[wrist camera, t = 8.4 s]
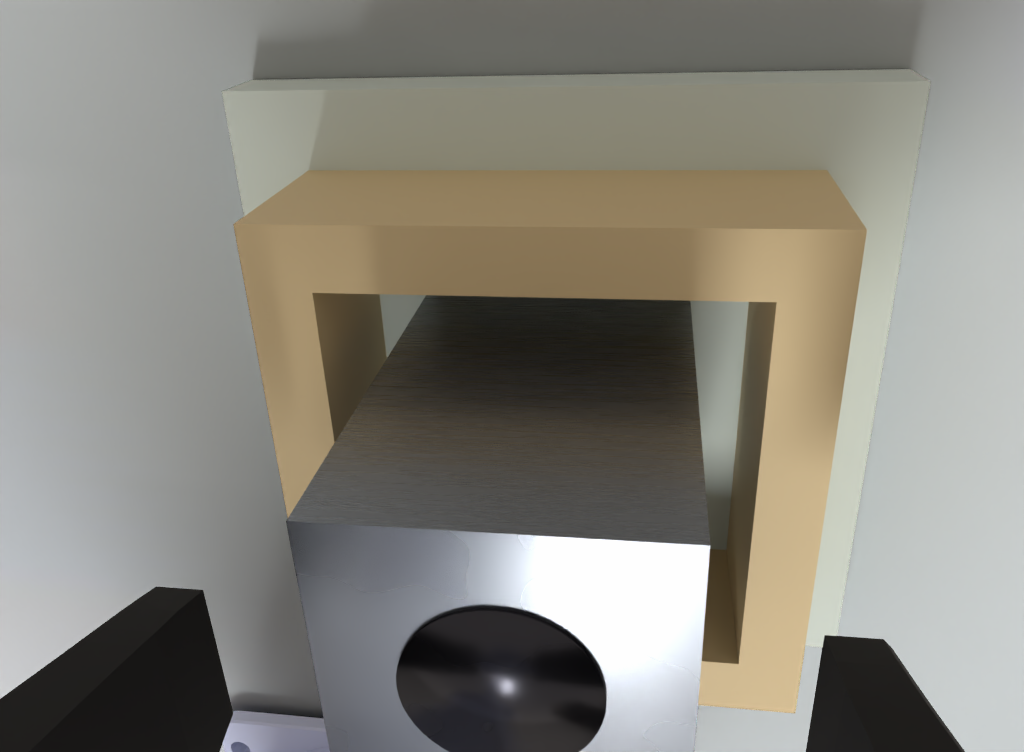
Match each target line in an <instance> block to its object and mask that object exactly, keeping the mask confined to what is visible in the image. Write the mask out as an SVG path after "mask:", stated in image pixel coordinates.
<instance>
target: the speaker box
mask: <svg viewBox="0 0 1024 752" xmlns="http://www.w3.org/2000/svg"><path fill="white" fill-rule="evenodd" d="M286 523H287V528H288V533H289V539H290V544H291V549H292V555H293V560H294V565H295V570H296V576H297V581H298V586H299V591H300V597H301V602H302V607H303V613H304V618H305V623H306V628H307V634H308V639H309V644H310V650H311V655H312V660H313V665H314V671H315V676H316V681H317V686H318V692H319V697H320V702H321V708H322V713H323V718H324V723H325V729H326V734H327V739H328V745H329V750H330V752H695V740H696V727H697V714H698V701H699V688H700V674H701V661H702V648H703V635H704V622H705V608H706V595H707V582H708V569H709V556H710V536H709V524H708V512H707V499H706V487H705V475H704V463H703V450H702V438H701V426H700V413H699V401H698V389H697V377H696V364H695V352H694V340H693V328H692V315H691V303H690V301H684V300H636V299H587V298H539V297H490V296H441V295H426V296H425V298H424V299H423V301H422V303H421V304H420V306H419V307H418V309H417V311H416V312H415V314H414V316H413V317H412V319H411V320H410V322H409V324H408V325H407V327H406V328H405V330H404V332H403V333H402V335H401V337H400V338H399V340H398V341H397V343H396V345H395V346H394V348H393V349H392V351H391V353H390V354H389V356H388V358H387V359H386V361H385V362H384V364H383V366H382V367H381V369H380V370H379V372H378V374H377V375H376V377H375V378H374V380H373V382H372V383H371V385H370V387H369V388H368V390H367V391H366V393H365V395H364V396H363V398H362V399H361V401H360V403H359V404H358V406H357V408H356V409H355V411H354V412H353V414H352V416H351V417H350V419H349V420H348V422H347V424H346V425H345V427H344V429H343V430H342V432H341V433H340V435H339V437H338V438H337V440H336V441H335V443H334V445H333V446H332V448H331V450H330V451H329V453H328V454H327V456H326V458H325V459H324V461H323V462H322V464H321V466H320V467H319V469H318V471H317V472H316V474H315V475H314V477H313V479H312V480H311V482H310V483H309V485H308V487H307V488H306V490H305V491H304V493H303V495H302V496H301V498H300V500H299V501H298V503H297V504H296V506H295V508H294V509H293V511H292V512H291V514H290V516H289V517H288V519H287V521H286Z"/></svg>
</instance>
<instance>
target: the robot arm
mask: <svg viewBox="0 0 1024 752" xmlns="http://www.w3.org/2000/svg"><path fill="white" fill-rule="evenodd" d="M222 743H223V747H224V751H225V752H330V750H329V745H328V739H327V734H326V729H325V723H324V718H314V717H304V716H293V715H282V714H272V713H261V712H250V711H233V710H232V706H231V702H230V698H229V694H228V690H227V686H226V682H225V678H224V674H223V670H222V666H221V662H220V657H219V653H218V649H217V645H216V641H215V637H214V633H213V629H212V625H211V621H210V617H209V613H208V609H207V605H206V600H205V596H204V592H203V590H193V589H179V588H166V587H155V588H154V589H152V590H151V591H149V592H148V593H146V594H145V595H143V596H142V597H140V598H139V599H137V600H136V601H134V602H133V603H132V604H130V605H129V606H127V607H126V608H125V609H123V610H122V611H120V612H119V613H118V614H116V615H115V616H113V617H112V618H111V619H109V620H108V621H107V622H105V623H104V624H102V625H101V626H100V627H98V628H97V629H96V630H94V631H93V632H92V633H90V634H89V635H87V636H86V637H85V638H83V639H82V640H81V641H79V642H78V643H77V644H75V645H74V646H73V647H71V648H70V649H68V650H67V651H66V652H64V653H63V654H62V655H60V656H59V657H58V658H56V659H55V660H53V661H52V662H51V663H49V664H48V665H47V666H45V667H44V668H42V669H41V670H40V671H38V672H37V673H36V674H34V675H33V676H31V677H30V678H29V679H27V680H26V681H24V682H23V683H22V684H20V685H19V686H18V687H16V688H15V689H13V690H12V691H11V692H9V693H8V694H7V695H5V696H4V697H2V698H1V699H0V752H219V751H220V749H221V746H222ZM806 752H965V751H964V750H963V749H962V747H961V746H960V744H959V743H958V742H957V740H956V739H955V738H954V736H953V735H952V733H951V732H950V731H949V729H948V728H947V727H946V725H945V724H944V722H943V721H942V720H941V718H940V717H939V715H938V714H937V713H936V711H935V710H934V708H933V707H932V706H931V704H930V703H929V701H928V700H927V699H926V697H925V696H924V694H923V693H922V691H921V690H920V688H919V687H918V686H917V684H916V683H915V681H914V680H913V678H912V677H911V675H910V674H909V672H908V671H907V670H906V668H905V667H904V665H903V664H902V662H901V661H900V659H899V658H898V656H897V655H896V653H895V652H894V650H893V649H892V648H891V647H890V646H889V645H888V644H887V643H886V641H885V640H884V639H871V638H857V637H843V636H829V635H825V636H824V642H823V648H822V654H821V661H820V667H819V673H818V679H817V686H816V692H815V698H814V704H813V711H812V717H811V723H810V730H809V736H808V742H807V748H806Z"/></svg>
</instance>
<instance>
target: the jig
mask: <svg viewBox="0 0 1024 752" xmlns="http://www.w3.org/2000/svg"><path fill="white" fill-rule="evenodd" d="M930 84H931V81H930V80H928V79H926V78H925V77H923V76H921V75H920V74H918V73H916V72H915V71H913V70H911V69H881V70H820V71H759V72H698V73H637V74H576V75H515V76H454V77H393V78H332V79H271V80H249V81H247V82H244V83H242V84H239V85H237V86H234V87H232V88H229V89H227V90H224V91H222V96H223V102H224V108H225V113H226V119H227V124H228V130H229V136H230V141H231V147H232V152H233V158H234V164H235V169H236V175H237V180H238V186H239V192H240V197H241V203H242V208H243V214H244V217H243V218H241V219H240V220H239V221H237V222H236V223H234V224H233V225H234V230H235V236H236V241H237V246H238V252H239V257H240V263H241V268H242V274H243V279H244V284H245V290H246V295H247V301H248V306H249V311H250V317H251V322H252V328H253V333H254V338H255V344H256V349H257V355H258V360H259V366H260V371H261V376H262V382H263V387H264V393H265V398H266V403H267V409H268V414H269V420H270V425H271V430H272V436H273V441H274V447H275V452H276V458H277V463H278V468H279V474H280V479H281V485H282V490H283V495H284V501H285V506H286V512H287V517H289V516H290V514H291V512H292V511H293V509H294V508H295V506H296V504H297V503H298V501H299V500H300V498H301V496H302V495H303V493H304V491H305V490H306V488H307V487H308V485H309V483H310V482H311V480H312V479H313V477H314V475H315V474H316V472H317V471H318V469H319V467H320V466H321V464H322V462H323V461H324V459H325V458H326V456H327V454H328V453H329V451H330V450H331V448H332V446H333V445H334V443H335V441H336V440H337V438H338V437H339V435H340V433H341V432H342V430H343V429H344V427H345V425H346V424H347V422H348V420H349V419H350V417H351V416H352V414H353V412H354V411H355V409H356V408H357V406H358V404H359V403H360V401H361V399H362V398H363V396H364V395H365V393H366V391H367V390H368V388H369V387H370V385H371V383H372V382H373V380H374V378H375V377H376V375H377V374H378V372H379V370H380V369H381V367H382V366H383V364H384V362H385V361H386V359H387V358H388V356H389V354H390V353H391V351H392V349H393V348H394V346H395V345H396V343H397V341H398V340H399V338H400V337H401V335H402V333H403V332H404V330H405V328H406V327H407V325H408V324H409V322H410V320H411V319H412V317H413V316H414V314H415V312H416V311H417V309H418V307H419V306H420V304H421V303H422V301H423V299H424V298H425V296H426V295H441V296H490V297H539V298H587V299H636V300H684V301H690V303H691V315H692V328H693V340H694V352H695V364H696V377H697V389H698V401H699V413H700V426H701V438H702V450H703V463H704V475H705V487H706V499H707V512H708V524H709V536H710V556H709V569H708V582H707V595H706V608H705V622H704V635H703V648H702V661H701V674H700V688H699V701H698V705H704V706H716V707H727V708H739V709H751V710H762V711H774V712H785V713H795V711H796V704H797V697H798V690H799V684H800V677H801V670H802V664H803V657H804V650H805V646H809V647H822V648H823V642H824V636H825V635H829V636H837V633H838V627H839V621H840V615H841V609H842V603H843V597H844V592H845V586H846V580H847V574H848V568H849V562H850V556H851V550H852V544H853V538H854V533H855V527H856V521H857V515H858V509H859V503H860V497H861V491H862V485H863V479H864V473H865V468H866V462H867V456H868V450H869V444H870V438H871V432H872V426H873V420H874V414H875V409H876V403H877V397H878V391H879V385H880V379H881V373H882V367H883V361H884V355H885V350H886V344H887V338H888V332H889V326H890V320H891V314H892V308H893V302H894V296H895V290H896V285H897V279H898V273H899V267H900V261H901V255H902V249H903V243H904V237H905V231H906V226H907V220H908V214H909V208H910V202H911V196H912V190H913V184H914V178H915V172H916V167H917V161H918V155H919V149H920V143H921V137H922V131H923V125H924V119H925V113H926V107H927V102H928V96H929V90H930Z"/></svg>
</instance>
